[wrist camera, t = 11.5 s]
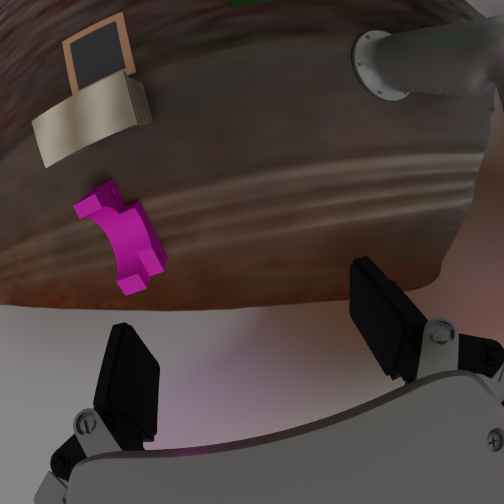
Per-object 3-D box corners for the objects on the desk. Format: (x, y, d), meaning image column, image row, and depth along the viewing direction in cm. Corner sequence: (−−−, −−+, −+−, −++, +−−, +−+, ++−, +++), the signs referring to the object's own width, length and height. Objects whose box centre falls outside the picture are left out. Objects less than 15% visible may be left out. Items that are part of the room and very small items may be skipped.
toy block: (167, 255, 42) (162, 282, 36) (135, 268, 43) (125, 295, 36) (127, 171, 35) (111, 185, 28) (93, 188, 35) (73, 205, 28)
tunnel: (146, 81, 29) (123, 70, 19) (156, 120, 32) (137, 123, 22) (72, 115, 29) (31, 121, 19) (83, 151, 32) (45, 168, 22)
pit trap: (123, 12, 22) (122, 11, 22) (136, 72, 28) (135, 71, 27) (63, 42, 22) (62, 41, 22) (75, 100, 28) (73, 100, 27)
